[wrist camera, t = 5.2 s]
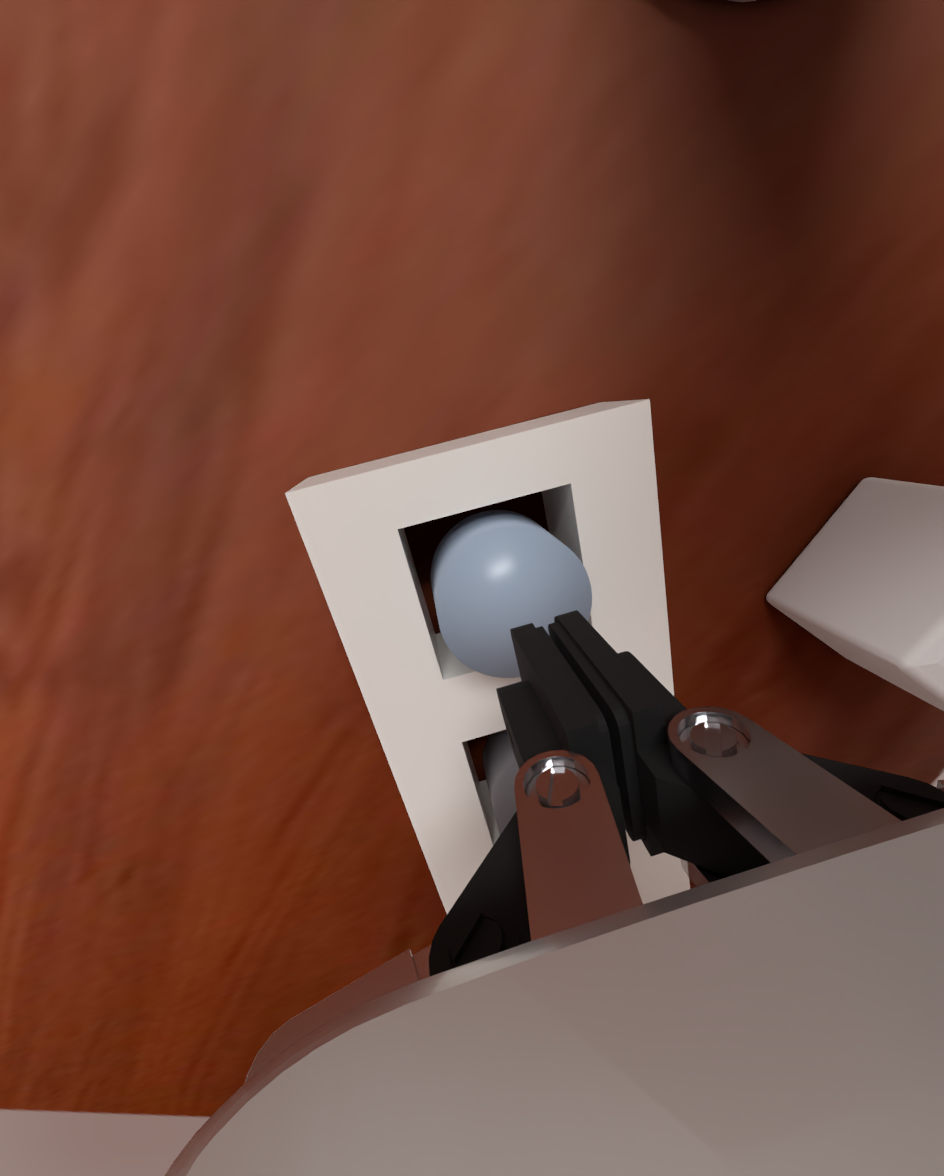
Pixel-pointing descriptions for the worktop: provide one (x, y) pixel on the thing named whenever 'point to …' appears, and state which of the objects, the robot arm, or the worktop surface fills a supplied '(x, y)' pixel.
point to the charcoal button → (501, 776)
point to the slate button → (502, 586)
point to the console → (419, 656)
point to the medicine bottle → (877, 584)
